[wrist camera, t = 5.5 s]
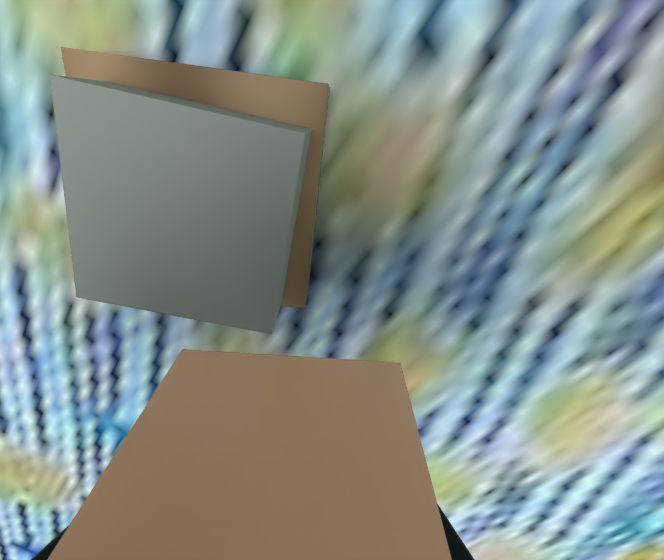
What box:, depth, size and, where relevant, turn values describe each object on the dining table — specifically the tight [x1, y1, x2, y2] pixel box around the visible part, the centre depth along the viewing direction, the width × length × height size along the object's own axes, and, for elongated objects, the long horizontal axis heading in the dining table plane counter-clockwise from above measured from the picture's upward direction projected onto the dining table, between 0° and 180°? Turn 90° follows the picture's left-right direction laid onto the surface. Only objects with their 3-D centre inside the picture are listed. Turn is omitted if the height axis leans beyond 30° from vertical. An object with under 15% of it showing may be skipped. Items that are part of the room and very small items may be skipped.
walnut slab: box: [61, 47, 329, 308], centre depth 17 cm, size 10×10×3 cm
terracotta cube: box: [47, 349, 452, 560], centre depth 7 cm, size 5×5×5 cm
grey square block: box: [50, 75, 312, 334], centre depth 14 cm, size 8×8×3 cm
